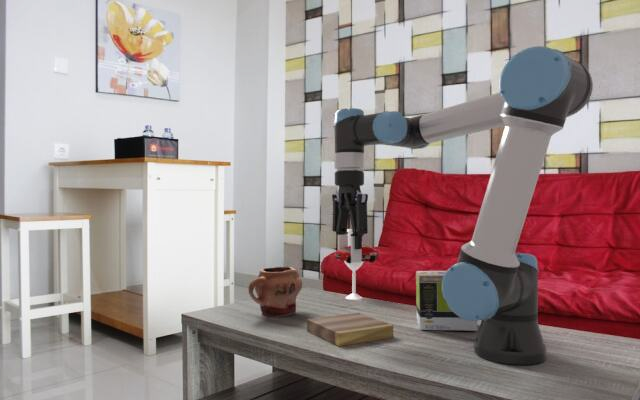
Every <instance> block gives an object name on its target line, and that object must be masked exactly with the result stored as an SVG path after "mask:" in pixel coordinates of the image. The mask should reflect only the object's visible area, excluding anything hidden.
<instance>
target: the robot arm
mask: <svg viewBox="0 0 640 400" xmlns="http://www.w3.org/2000/svg"><path fill="white" fill-rule="evenodd" d="M592 78H593V77H592V75H591V72H590V71H589V70H588V68H587V67H586V66H585V65H583V64H582V63H580V62H579V61H577V60H575V59H573V58H571V57H570V56H567V55H566V54H565V53H564V52H562V51H561V50H559V49H556V48H555V49H554V48H552V47H547V46H543V45H541V46H539V45H538V46H537V45H536V46H531V47H527V48H525V49H523V50H520V51H518V52H517V54H515V55H513V56H512V57H511V58H510V59H509V60H508V61H507V62H506V63H505V65H504V67H503V68H502V71H501V72H500V76H499V79H498V89H499V92H497V93H493V94H490V95H489V94H488V95H486V96H484V97H483V96H482V97H480V98H477V99H472V100H469V101H465V102H462V103H459V104H454V105H451V106H448V107H445V108H442V109H439V110H435V111H430V112H427V113H424V114H422V115H421V114H420V115H417V116H413V117H406V116H404V115H402V113H401V112H400V111H397V110H393V111H388V110H385V111H382V112H376V113H369V114H365V112H364V110H362V108H353V107H350V108H341V109H338V110H337V111H336V112H335V113H334V124H333V125H334V126H333V129H334V131H333V132H334V169H335V170H336V171H335V172H334V186H337V187H338V191H337V193H335V194H334V193H333V194H332V195H331V199H332V227H331V228H332V232H335V234H336V236H337V241H336V242H337V243H336V244H337V250H340V249H345V248H346V247H348V235H347V234H348V232H347V229H348V222H349V219H350V225H351V229H352V232H353V234H351V263H355V262H362V245H363V236H364V235H366V234H368V233H369V232H368V231H369V230H368V229H369V227H368V199H369V194H368V193H362V190H361V186H364V185H365V172H364V171H363V169H364V168H365V164H364V163H365V147H366V146H375V145H383V146H392V147H401V148H407V149H412V150H419V149H425V148H427V147H428V146H429V145H430V144H433V143H438V142H441V141H445V140H449V139H455V138H458V137H462V136H466V135H471V134H475V133H480V132H484V131H489V130H492V129H498V128H501V127H504V129H503V132H502V134H501V135H502V136H501V139H500V141H499V142H500V143H499V146H498V149H497V152H496V155H495V156H496V157H495V159H494V162H493V166H492V170H491V173H490V176H489V179H488V183H487V187H486V189H485V193H484V197H483V200H482V204H481V207H480V210H479V213H478V216H477V221H476V224H475V227H474V231H473V234H472V238H471V239H470V241H468V242H466V243H465V244H463V245H461V248H460V250H459V251H460V252H459V254H458V258H457V262H456V263H455V264H453V265H451V266H450V267H449V268H448V269H447V270H445V271H446V272H445V274H444V276H443V279H442V294H443V297H444V299H445V300H446V302H447V305H448V307H449V308H450V309H451V310H452V311H453V312H454V313H455V314H456V315H458V316H459V317H461V318H463V319H466V320H469V321H477V322H478V321H480V325H479V327H478V329H477V334H476V337H475V339H474V343H473V344H474V349H473V351H474V353H475V354H476V355H477V356H478V357H480V358H482V359H484V360H488V361H491V362H495V363H501V364H508V365H518V366H519V365H522V366H523V365H535V364H536V365H537V364H540V363H543V362H545V361H546V360H547V347H546V345H545V342H544V339H543V335H542V332H541V328H540V326H539V322H538V321H539V319H538V311H539V310H538V309H539V307H538V305H539V304H538V303H539V301H538V300H539V271H540V270H539V268H538V259H537V257H536V256H535V255H533V254H530V253H521V252H516V249H517V247H518V243H519V242H520V237H521V234H522V230H523V227H524V224H525V222H526V218H527V214H528V211H529V209H530V204H531V202H532V198H533V196H534V192H535V190H536V186H537V182H538V180H539V177H540V173H541V170H542V168H543V164H544V161H545V157H546V154H547V150H548V148H549V144H550V141H551V139H552V136H553V135H554V134H556V133H558V132H560V131H562V130H563V129H564V126H565V123H566V120H567V118H568V117H571V116H574V115H575V114H577V113H578V112H580V111H581V110H582V109H583V108H584V107H585V106H586V105H587V103H588V102H589V101H590V99H591V96H592V92H593V88H594V85H593V84H594V83H593V79H592ZM349 217H350V218H349ZM337 260H338V261H340V260H339V259H337Z"/></svg>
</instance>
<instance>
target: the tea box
mask: <svg viewBox="0 0 640 400" xmlns="http://www.w3.org/2000/svg"><path fill="white" fill-rule="evenodd" d="M446 271H447V270H416V271H415V286H416V287H415V291H416V292H415V296H416V297H415V299H416V300H415V302H416V303H415V304H416V306H415V307H416V308H415V311H416V312H415V313H416V322H417V324H418V326H419V330H421V331H425V330H426V331H470V332H471V331H472V332H474V331H475V332H478V321H469V320H466V319H463V318H461V317H459V316H458V315H456V314H455V313H454V312H453V311H452V310H451V309H450V308H449V307H448V305H447V302H446V300H445V299H444V297H443V294H442V279H443V276H444V274H445V272H446Z"/></svg>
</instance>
